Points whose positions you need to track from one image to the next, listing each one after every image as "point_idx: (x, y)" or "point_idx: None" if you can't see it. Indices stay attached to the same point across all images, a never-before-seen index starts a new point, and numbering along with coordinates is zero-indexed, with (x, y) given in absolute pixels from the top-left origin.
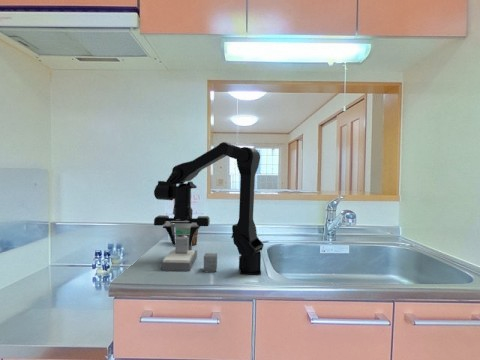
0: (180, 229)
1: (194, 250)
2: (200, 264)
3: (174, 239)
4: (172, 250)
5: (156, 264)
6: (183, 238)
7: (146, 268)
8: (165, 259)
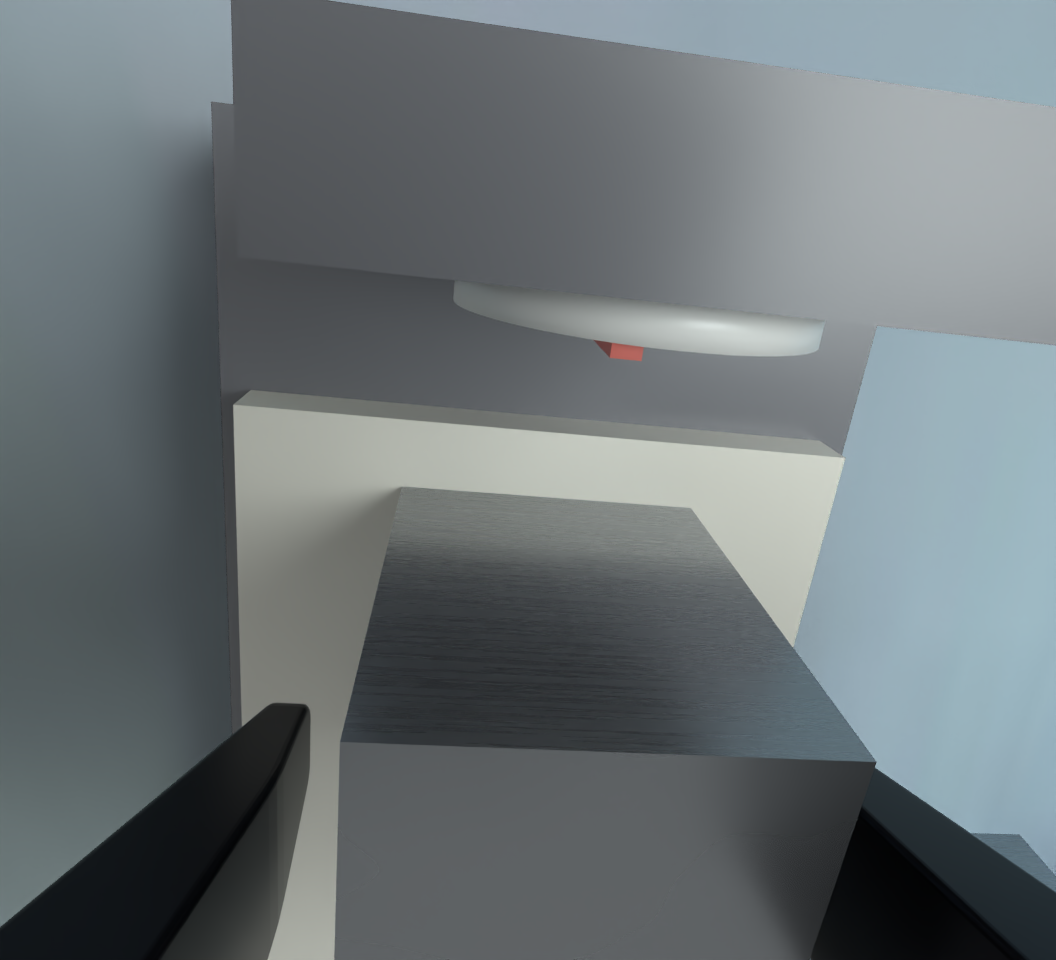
0: None
1: (837, 465)
2: (825, 684)
3: (256, 886)
4: (258, 464)
5: (96, 692)
6: None
7: (17, 870)
8: None
